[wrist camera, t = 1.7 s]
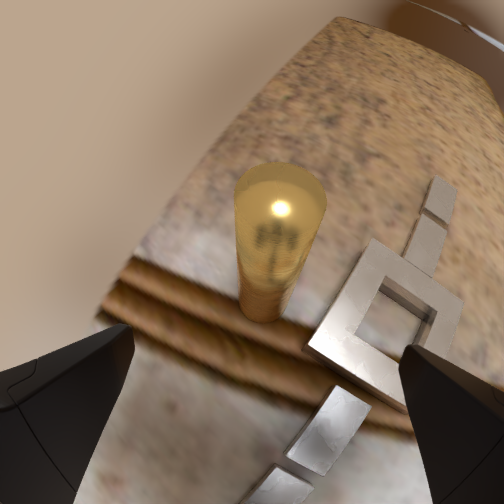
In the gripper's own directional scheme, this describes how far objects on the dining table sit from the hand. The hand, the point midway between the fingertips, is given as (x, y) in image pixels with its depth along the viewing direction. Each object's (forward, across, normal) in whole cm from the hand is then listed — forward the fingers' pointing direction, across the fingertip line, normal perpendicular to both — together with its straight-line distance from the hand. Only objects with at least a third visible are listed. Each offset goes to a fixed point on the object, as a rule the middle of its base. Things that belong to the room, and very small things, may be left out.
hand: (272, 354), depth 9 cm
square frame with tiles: (+12, -10, +6) cm, 16 cm away
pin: (+13, 0, +5) cm, 14 cm away
